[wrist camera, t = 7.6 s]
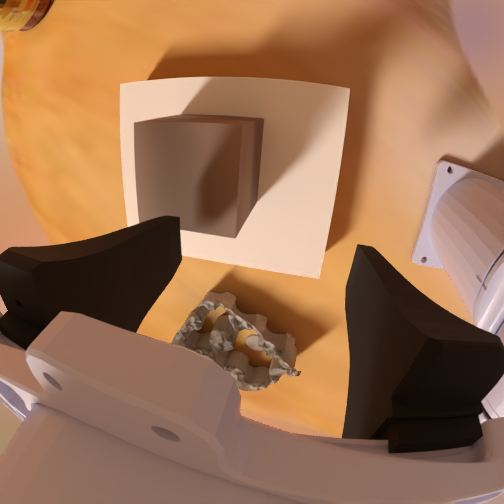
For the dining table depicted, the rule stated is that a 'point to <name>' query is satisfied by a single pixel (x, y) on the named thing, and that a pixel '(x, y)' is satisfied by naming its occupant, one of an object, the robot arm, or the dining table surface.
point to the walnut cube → (198, 170)
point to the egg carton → (224, 340)
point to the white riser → (271, 166)
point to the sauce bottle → (21, 14)
